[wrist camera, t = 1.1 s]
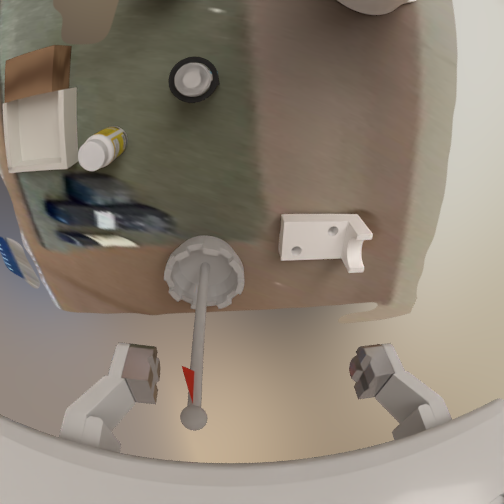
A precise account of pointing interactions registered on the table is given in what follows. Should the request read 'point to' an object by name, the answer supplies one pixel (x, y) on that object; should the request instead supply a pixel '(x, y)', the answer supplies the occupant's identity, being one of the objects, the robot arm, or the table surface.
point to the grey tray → (41, 131)
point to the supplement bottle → (102, 148)
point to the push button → (193, 79)
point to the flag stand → (202, 302)
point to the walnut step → (37, 72)
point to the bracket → (324, 238)
